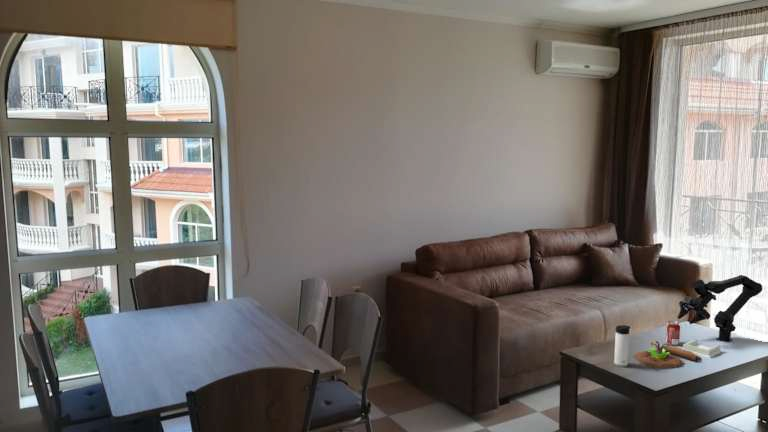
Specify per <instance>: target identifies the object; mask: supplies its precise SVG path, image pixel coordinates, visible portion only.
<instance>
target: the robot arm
mask: <svg viewBox="0 0 768 432" xmlns="http://www.w3.org/2000/svg"><path fill="white" fill-rule="evenodd" d="M740 285H741V286H742V290H741V292H740V294H739V295H738V296H737V297H736V298H735V300H734V301H732V303H731V304H730V305H729V306H728V307H727V309H726V310H724V311H723V310H719V311H718V312H717V314H715V317H714V324H715V327H716V328H719V329H718V337H716V338H715V339H716V340H718V341H722V342H725V343H729V342H732V341H733V338H732V332H735V330H736V326H735V324H733V323H734V320H735V316H736V315H737V314H738V312H740V311H741V309H742V308H743V307H744V306H745V305H746V304H747V303H748V301H749V300H750V299H751V298H754V297H756V296H758V295H759V294H760V293H762V291H763V285H762V283H760V282H757V281H755V280H753V279H751V278H749V277H748V276H746V275H743V274H740V275H738V276H734V277H732V278H728V279H724V280H712V281H711V280H710V281H708V282H707V283H705V281H704V280H703V279H698V280H695V281H693V282H691V284H690V288H691V289H692V290H693V291H694V292H695V294H696V295H698V297H697V296H694V297H692V296H689V295H685V297H684V299H683V300H681V301H679V302H678V305H679V308H680V310H679V312H678V315H677V319H678V320H680V319H682V318H683V317H685V316H686V315H688V314H689V313H690V312H691V311H693V312H695V315H694V316H693V317H692V318H691V320H690V321H689V324H690V325H692V324H695V323H698V322H700V321H703V320H705V321H706V320H709V319H710V318H711V314H710V312H708V311H707V310H706V308H708V307H709V306H708V304H709V303H710V302H711V301H712V300H714V301H716V300H717V297H716V296H717V295H719V294H722V293H723V292H725V291H726V290H728V289H730V288H734V287H737V286H740ZM713 293H714V294H713ZM716 294H717V295H716Z"/></svg>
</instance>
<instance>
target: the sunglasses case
mask: <svg viewBox="0 0 768 432" xmlns="http://www.w3.org/2000/svg"><path fill="white" fill-rule="evenodd" d="M669 346H670V347H669V348H668V347H667V345H664V346H663V349H664V350H665V352H664V353H667V352H670V353H669V354H672V355H674V356H676V357H677V356H678V357H682V358H684V359H687V360H691V361H694V362H695V363H698V362H699V361H701V360H703V358H702V357H700V355H697V354H694V353H693V352H691V351H687V350H684V349H682V348H681V347H676V346H674V345H669Z"/></svg>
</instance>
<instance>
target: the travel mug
mask: <svg viewBox="0 0 768 432" xmlns="http://www.w3.org/2000/svg"><path fill="white" fill-rule="evenodd" d="M630 329H631V326H629V325H625V324H624V325H621V324H620V325H617V326H616V327H615V335H614V336H615V337H614V338H615V341H614V358H613V359H614V361H613V364H614V365H615V366H616V367H620V368H627V367H629V363H628V362H629V351H630V350H629V347H630Z"/></svg>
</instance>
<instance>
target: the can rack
mask: <svg viewBox="0 0 768 432" xmlns="http://www.w3.org/2000/svg"><path fill="white" fill-rule="evenodd" d="M682 345H683V346H682V348H681V349H684V350H687V351H691V352H693V353H694V354H695V355H697V356H702V357H706V358H709V359H710V358H712V357H715V356H717V354H719V353H721V351H722V350H721V345H719V344H715V345H713V346H711V347H708V346H705V345H701V344H698V339H695V338H694V339H691V340H690V341H687V342H685V343H683V344H682Z"/></svg>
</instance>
